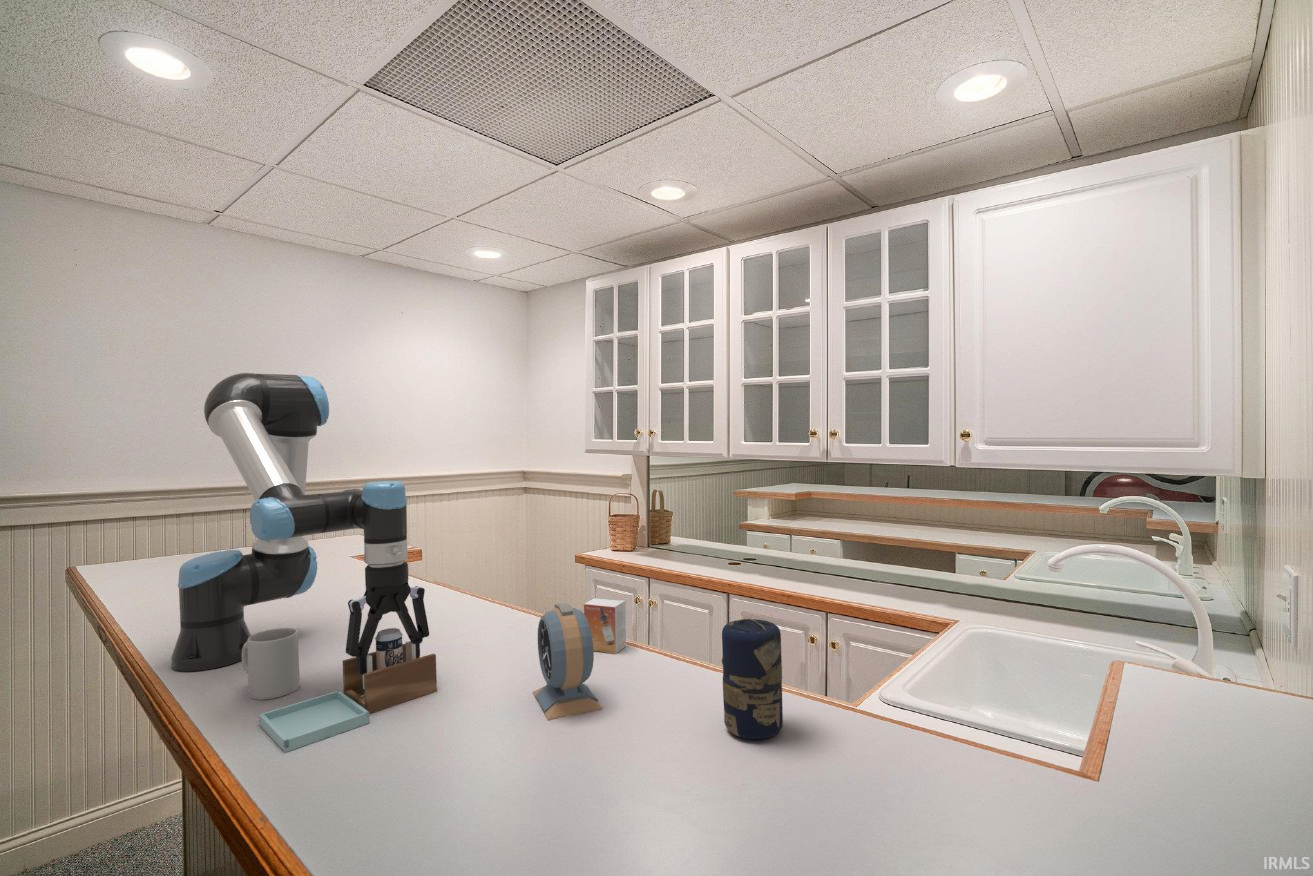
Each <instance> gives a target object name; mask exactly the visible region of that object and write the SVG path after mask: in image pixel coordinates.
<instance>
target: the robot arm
mask: <svg viewBox="0 0 1313 876" xmlns="http://www.w3.org/2000/svg"><path fill="white" fill-rule="evenodd" d="M203 414H204V419H205V421H206V424H207V425H208V427H209V429H210V431H211V433H213V434H214V435H215V436H217V437H219V438H221V440H222V442H223V443H224V445H225V447H226V449H227V451H228V453H229V454H230V457H231V458H232V460H233V462H234V464H235V466H236V468H237V470H238V471H239V473H240V475H241V477H242V479H243V480H244V482H245V485H246V486H247V488H248V491H249V492H250V494H251V495H252V498H253V499H254V502H253V503H252V504H251V507H250V510H249V524H250V525H251V526H250V527H251V532H252V533H253V535H254V537H255V538H256V540H255V541H254V542H252V545H251V553H248V554H244V555H243V553H242V551H241V550H239V549H227V550H223V551H222V550H220V551H214V552H210V553H207V554H203V555H200V556H196V557H194V558H191V559H189V560H187V561H185V562H183V563H182V565H181V566H180V567H179V570H178V582H177V587H178V600H179V621H180V624H179V625H180V630H179V634H178V636H177V640H176V642H175V645H174V648H173V651H172V655H171V659H170V660H171V668H172V670H175V671H178V672H197V671H198V672H199V671H206V670H212V669H218V668H221V667H225V666H230V665H232V664H235V663H238V662H239V663H240V662H242V648H243V645H244V644H245V643H246V642H247V640H248V638H249V637H250V636H252V635H251V634H252V633H251V631H250V629H249V628H248V626H247V623H246V621H245V614H244V613H245V610H244V609H245V607H246V606H250V605H252V606H253V605H256V604H260V603H265V602H270V601H271V602H272V601H275V600H276V601H277V600H282V599H289V598H292V597H294V596H298V595H300V594H302V595H303V594H304V593H306V592H308V591H309V589H310V588H311V587H312V586H313V584H315V583H314V582H315V579H316V577H317V573H318V561H317V554H316V552H315V549H314V548H313V547H312V546H310V545H309V541H308V540H307V539H306V538H305V537H304V536H310V535H311V536H312V535H317V534H326V533H333V532H334V533H335V532H340V531H346V530H347V531H348V530H355V529H359V530H363V542H364V543H363V546H364V550H363V553H364V564H366V566H365V567H364V577H365V578H364V581H365V582H364V583H365V585H364V586H365V592H364V593H363V596H362V597H359V598H357V599H350V600H348V602H347V605H348V609H349V619H348V628H347V636H346V637H347V638H346V645H345V654H347V655H348V656H349V657H351V658H354V657H357V671H358V673H359V674H361V675H363V689H364V674H365V673H369V672H372V671H373V669H372V656H371V655H369V654H368V653H370V648H371V645H372V643H373V640H374V637H375V636H376V635H375V634H376V631H377V630H378V626H379V623H380V621H381V620H382V618H383V615H387V614H388V613H396V614H397V617H398V618H399V621H400V622H401V624H402V627H403V628H404V631H405V633H406V635H407V637H408V639H409V641H405V643H406V661H410V660H413V659H416V658H420V657H421V644H422V643H423V640H424V639H425V638H428V637H429V636H430V629H429V623H428V618H427V613H426V607H425V606H426V605H425V601H424V600H425V599H424V597H425V592H426V590H425V588H424V587H422V586H421V587H420V586H418V585H415V586H414V587H413V586H412V587H411V586H410V584H409V563H408V562H407V559H408V558H409V557H408V553H409V551H408V523H407V522H408V517H407V515H408V514H407V510H408V509H407V508H408V507H407V506H408V505H407V503H408V499H407V495H406V486H405V484H404V482H402V481H399V480H392V481H391V480H383V481H381V480H379V481H371V482H370V481H369V482H366V483H364V484H363V487H362V489H359V488H352V489H343V490H341V491H337V492H327V493H326V492H324V493H312V494H306V486H307V484H306V483H307V473H308V472H307V471H308V459H309V458H308V456H309V443H310V441H311V440H312V439H313V438H315V437H316V436H317V435H318V434H317V432H318V427H322V426H324V425H325V424H327V422H328V419H329V415H330V404H329V397H328V395H327V391H326V390H325V388H324V385H323V384H322V383H321V382H320V381H319V380H318V379H317V378H315V377H313V376H306V375H298V374H281V373H280V374H275V373H254V372H253V373H252V372H243V373H242V372H240V373H237V374H236V373H235V374H232V375H230V376H228V377H226V378H224V379H222V380H220V382H218V383H216V385H215V386H214V387H212V389H211V390H210V391H209V393H208V394H207V396H206V399H205V402H204V408H203ZM409 596H410V598H411V603H412V607H413V613H414V617H415V622H414V621H413V619H412V617H411V615H410V613H409V609H408V606H407V605H406V601H407V599H408V597H409ZM365 604H367V605H368V607H369V610H368V612H367V619H366V621H365V625H364V627H363V630H362V634H361V626H362V618H363V612H362V611H363V610H364V609H365ZM415 624H416V626H415ZM360 635H361V637H360Z"/></svg>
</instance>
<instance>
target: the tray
mask: <svg viewBox="0 0 1313 876" xmlns="http://www.w3.org/2000/svg"><path fill="white" fill-rule="evenodd" d="M370 717H371V716H370V712H368V711H367V710H366V709H364V708H363V707H361V706H360V705H359V704H357V703H356V702H354V701H353V700H352V699H350V698H349V697H347V696H346V695H345V694H344V692H342V691H340V690H335V691H332V692H330V693H326V694H322V695H319V696H316V697H312V698H309V699H305V700H301V701H300V702H296V703H293V704H289V705H286V706H282V707H279V708H276V709H273V710H269V711H266V712H262V713H260V714H258V725H259V726H260V728H262V730H263V731H264V732H265V733H266V735H268V736H269V737H270V738H271V740H273V741H274V742H275V744H276V745H277V746H278V747H279V748H280V749H281V750H282V751H283V752H284V753H288V752H291V751H293V750H296V749H298V748H302V747H304V746H308V745H310V744H314V743H317V742H318V741H322V740H325V739H327V738H330V737H334V736H336V735H340V734H342V733H344V732H348V731H350V730H354V729H356V728H359V727H362V726H364V725H368V724H370V723H371V720H370V719H371V718H370Z"/></svg>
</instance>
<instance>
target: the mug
mask: <svg viewBox="0 0 1313 876" xmlns="http://www.w3.org/2000/svg"><path fill="white" fill-rule="evenodd" d="M299 652H300V651H299V632H298V630H297V629H296V628H292V627H291V628H290V627H284V628H283V627H281V628H273V629H267V630H264V631H260V632H257V633H255V634H252V635H251V636H250V637H249V638H248V640H247V642H246V643H245V644H244V645H243V648H242V660H241V664H242V668H243V670H244V672H245V673H246V674H248V678H247V679H248V697H249V698H250V699H253V700H259V701H261V700H263V701H264V700H265V701H266V700H271V699H277V698H280V697H283V696H284V697H285V696H287V695H289V694H292V693H294V692H295V691H297V690H298V689H299V688H300V686H301V679H300V657H299V654H300V653H299Z"/></svg>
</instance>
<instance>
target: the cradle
mask: <svg viewBox="0 0 1313 876" xmlns="http://www.w3.org/2000/svg"><path fill="white" fill-rule="evenodd" d="M402 650H403V663H399V664H396V665H392V666H389V667H386V668H382V669H379V670H377V663H376V651H372V652H368V654H369V655H371V656H372V669H373V671H372V672H369V673H365V674H364V689H363V675H361V674H359V673H358V671H357V657H350V658H348V659H343V660H342V683H343V685H342V688H343V694H345V695H346V696H347V697H349V698H350V699H352V700H353V701H354V702H356V703H357V704H359V705H360V706H361V707H363V708H364V709H366V710H367V711H368V712H370V714H375V713H376V712H380V711H382V710H386V709H388V708H392V707H394V706H397V705H400V704H403V703H406V702H409V701H411V700H412V701H413V700H414V699H417V698H420V697H423V696H427V695H430V694H432V693H436V692H437V691H438V684H437V683H438V682H437V681H438V680H437V654H436V653H431V654H428V655H424V656H420V657H419V658H416V659H413V660H410V661H406V642H405V643H402ZM363 694H364V697H363V696H361V695H363Z"/></svg>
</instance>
